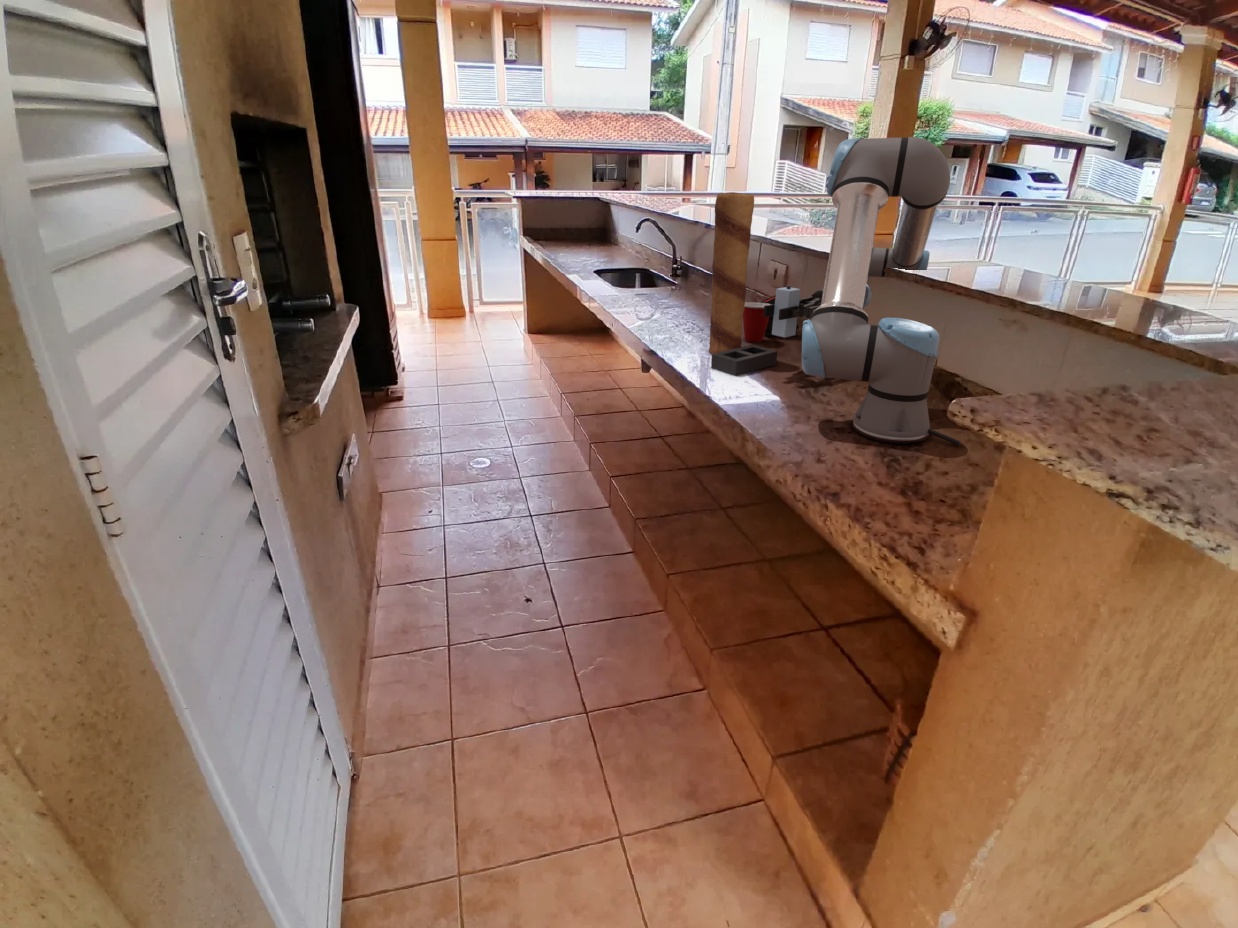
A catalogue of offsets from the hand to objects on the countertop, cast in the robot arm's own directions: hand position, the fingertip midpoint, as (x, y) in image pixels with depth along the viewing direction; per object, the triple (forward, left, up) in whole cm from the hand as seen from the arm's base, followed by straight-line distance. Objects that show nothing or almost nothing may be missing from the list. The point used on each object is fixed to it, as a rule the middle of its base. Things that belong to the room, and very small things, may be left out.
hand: (772, 313), depth 159 cm
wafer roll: (+25, -9, -18) cm, 32 cm away
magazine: (+29, -38, -18) cm, 51 cm away
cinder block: (+11, -3, -18) cm, 21 cm away
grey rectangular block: (0, -5, -7) cm, 8 cm away
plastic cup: (+29, -27, -18) cm, 44 cm away
